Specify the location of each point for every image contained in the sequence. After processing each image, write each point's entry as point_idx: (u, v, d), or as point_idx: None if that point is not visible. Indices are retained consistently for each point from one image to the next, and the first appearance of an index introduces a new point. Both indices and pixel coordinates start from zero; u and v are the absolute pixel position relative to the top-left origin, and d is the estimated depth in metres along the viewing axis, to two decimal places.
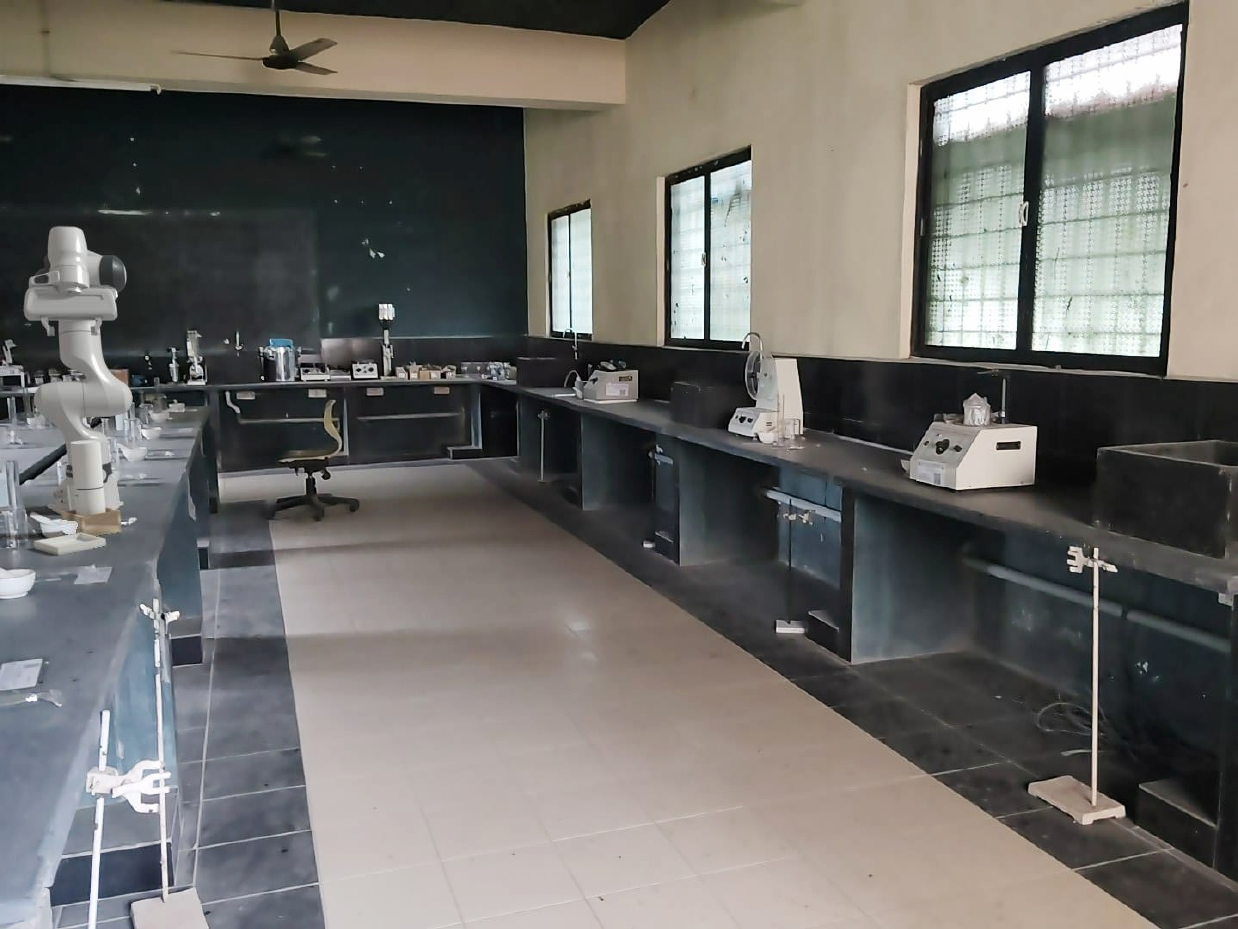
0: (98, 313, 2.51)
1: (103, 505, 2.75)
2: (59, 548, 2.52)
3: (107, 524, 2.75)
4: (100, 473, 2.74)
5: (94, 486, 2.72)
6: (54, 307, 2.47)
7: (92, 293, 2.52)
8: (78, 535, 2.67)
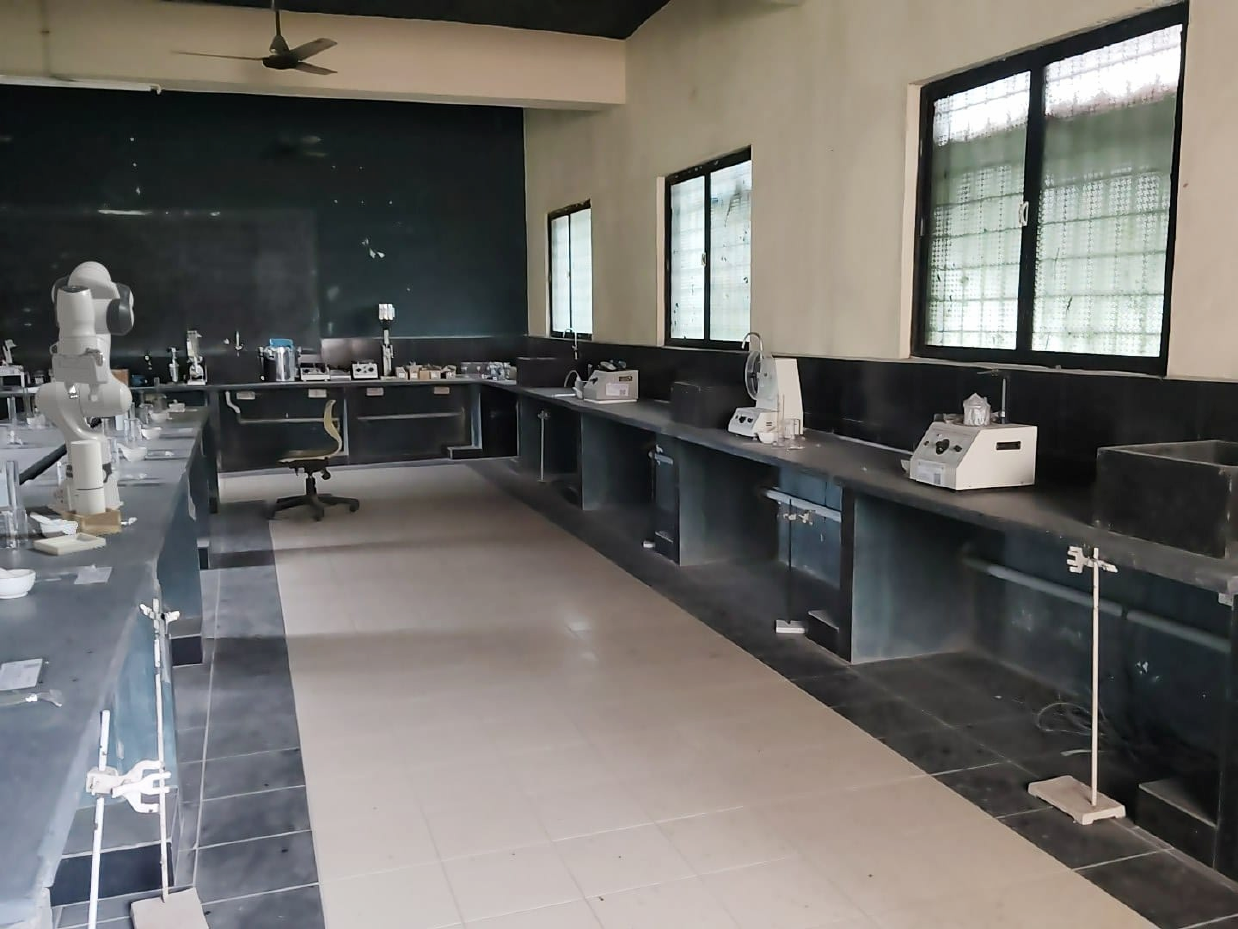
0: (87, 383, 2.65)
1: (103, 505, 2.75)
2: (59, 548, 2.52)
3: (107, 524, 2.75)
4: (100, 473, 2.74)
5: (94, 486, 2.72)
6: (67, 375, 2.70)
7: (83, 362, 2.65)
8: (78, 535, 2.67)
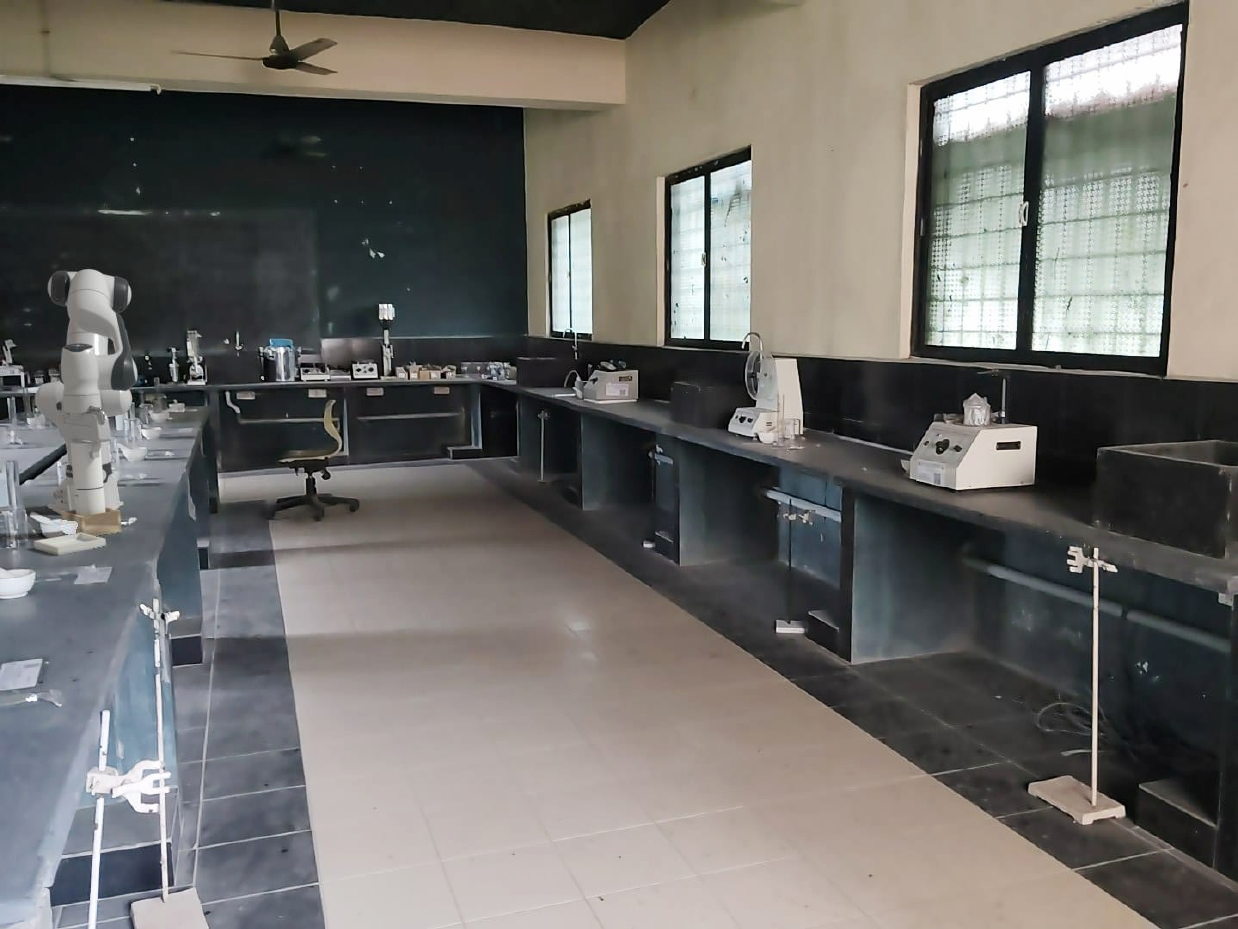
0: (90, 440, 2.68)
1: (103, 505, 2.75)
2: (59, 548, 2.52)
3: (107, 524, 2.75)
4: (100, 473, 2.74)
5: (94, 486, 2.72)
6: (71, 432, 2.73)
7: (86, 420, 2.68)
8: (78, 535, 2.67)
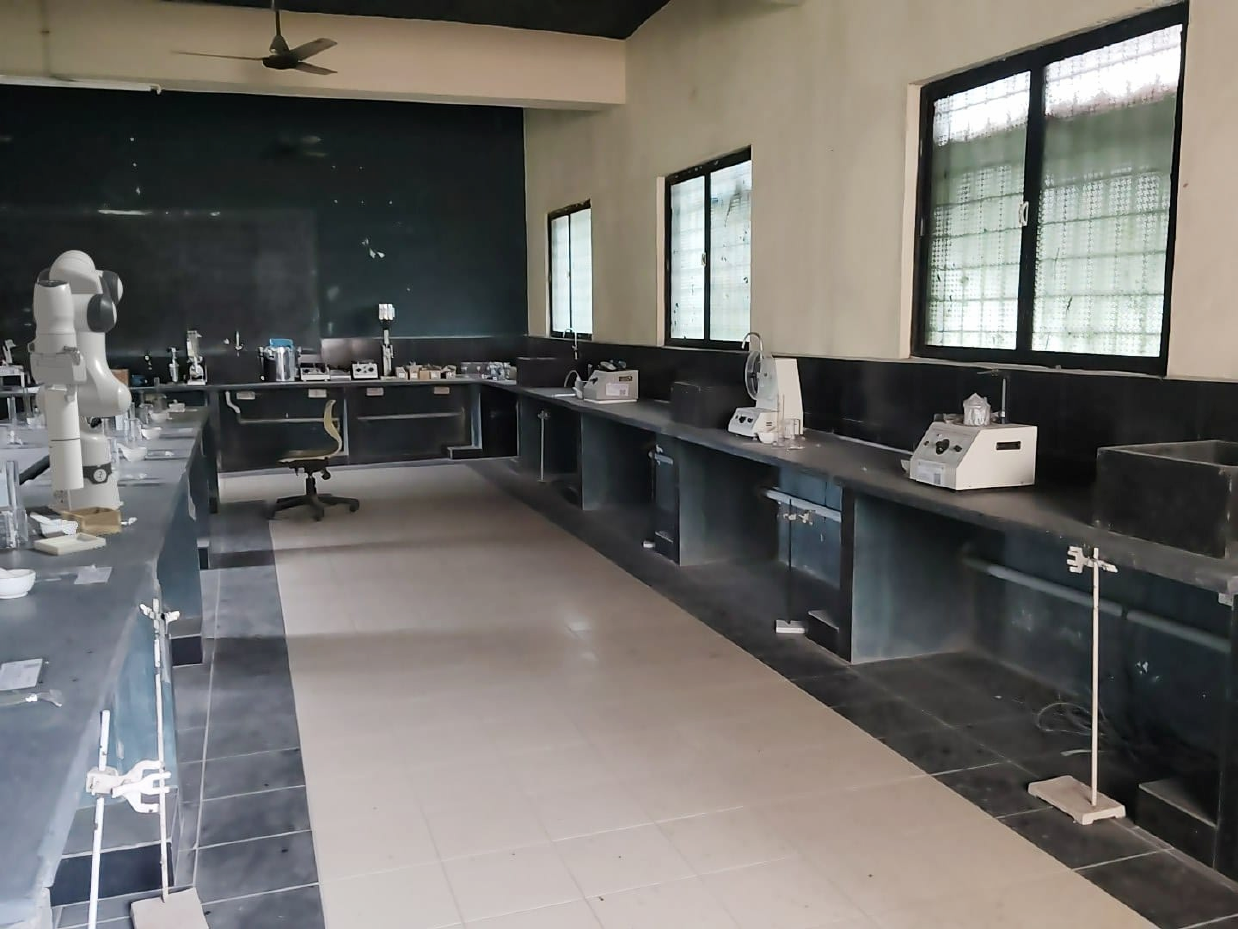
0: (64, 382, 2.50)
1: (79, 457, 2.58)
2: (59, 548, 2.52)
3: (107, 524, 2.75)
4: (76, 423, 2.57)
5: (70, 437, 2.55)
6: (44, 375, 2.55)
7: (60, 360, 2.50)
8: (78, 535, 2.67)
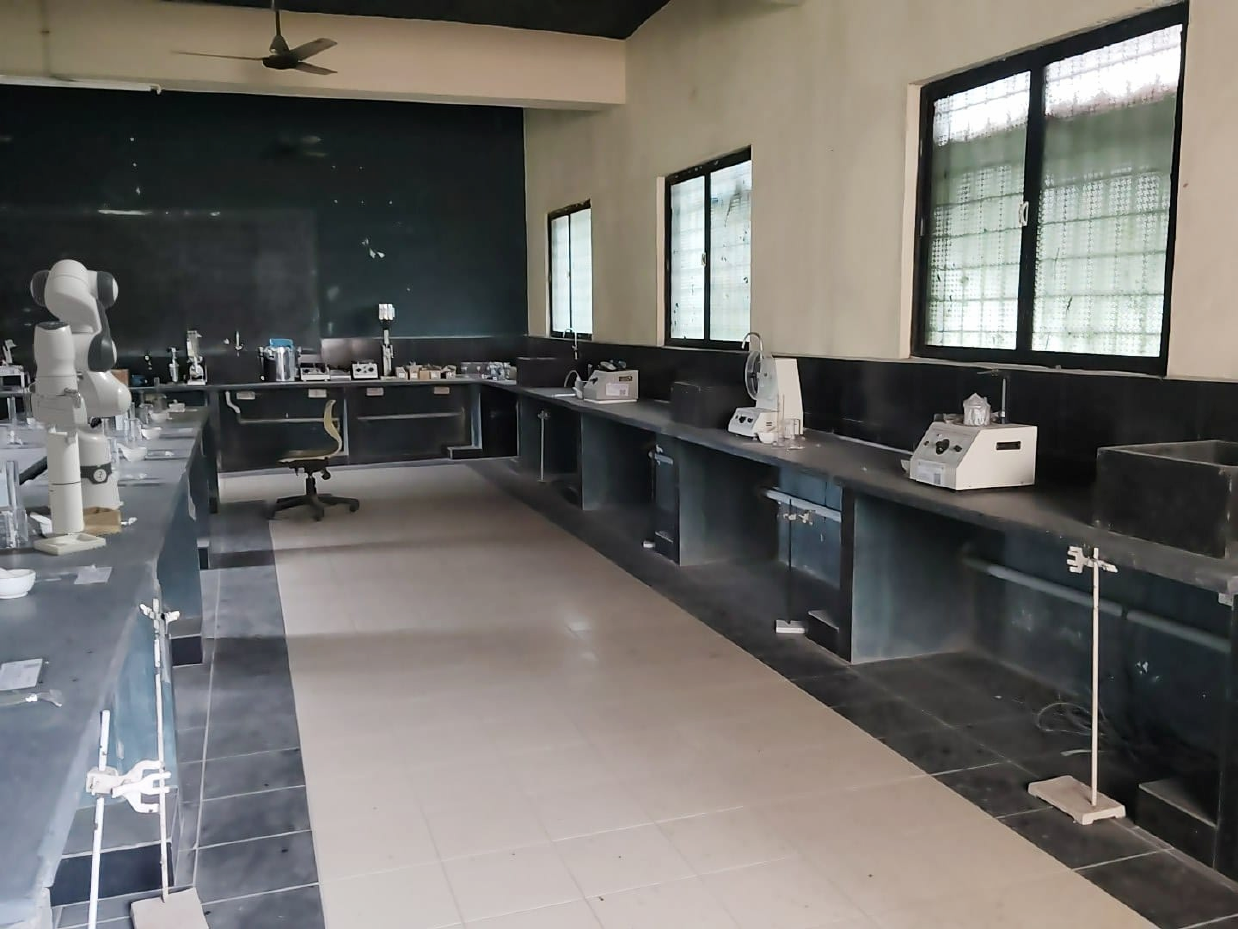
0: (65, 425, 2.50)
1: (80, 501, 2.58)
2: (59, 548, 2.52)
3: (107, 524, 2.75)
4: (77, 467, 2.57)
5: (70, 481, 2.55)
6: (45, 416, 2.55)
7: (61, 403, 2.50)
8: (78, 535, 2.67)
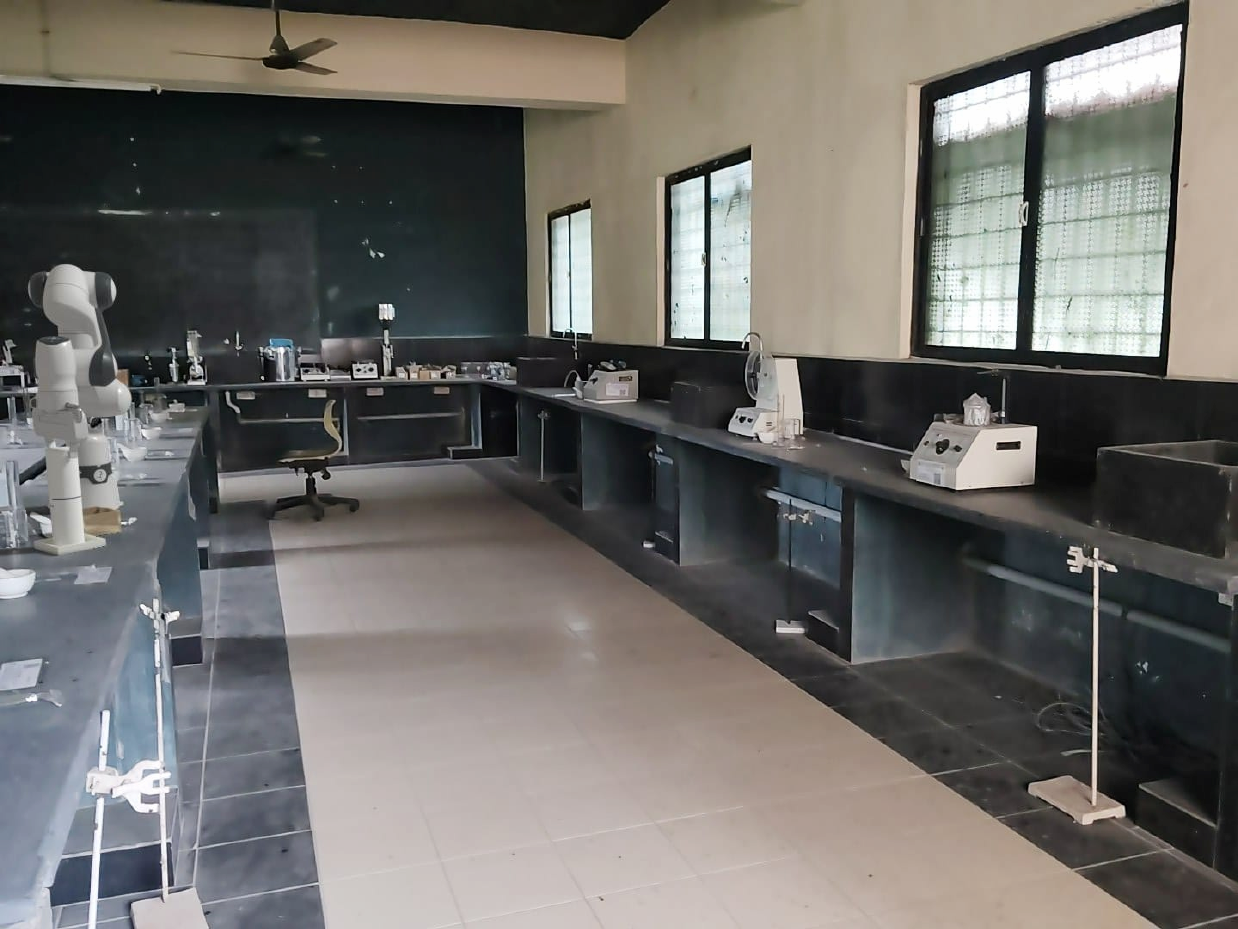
0: (66, 439, 2.51)
1: (80, 515, 2.59)
2: (59, 548, 2.52)
3: (107, 524, 2.75)
4: (77, 482, 2.57)
5: (71, 496, 2.56)
6: (46, 430, 2.56)
7: (62, 417, 2.51)
8: None
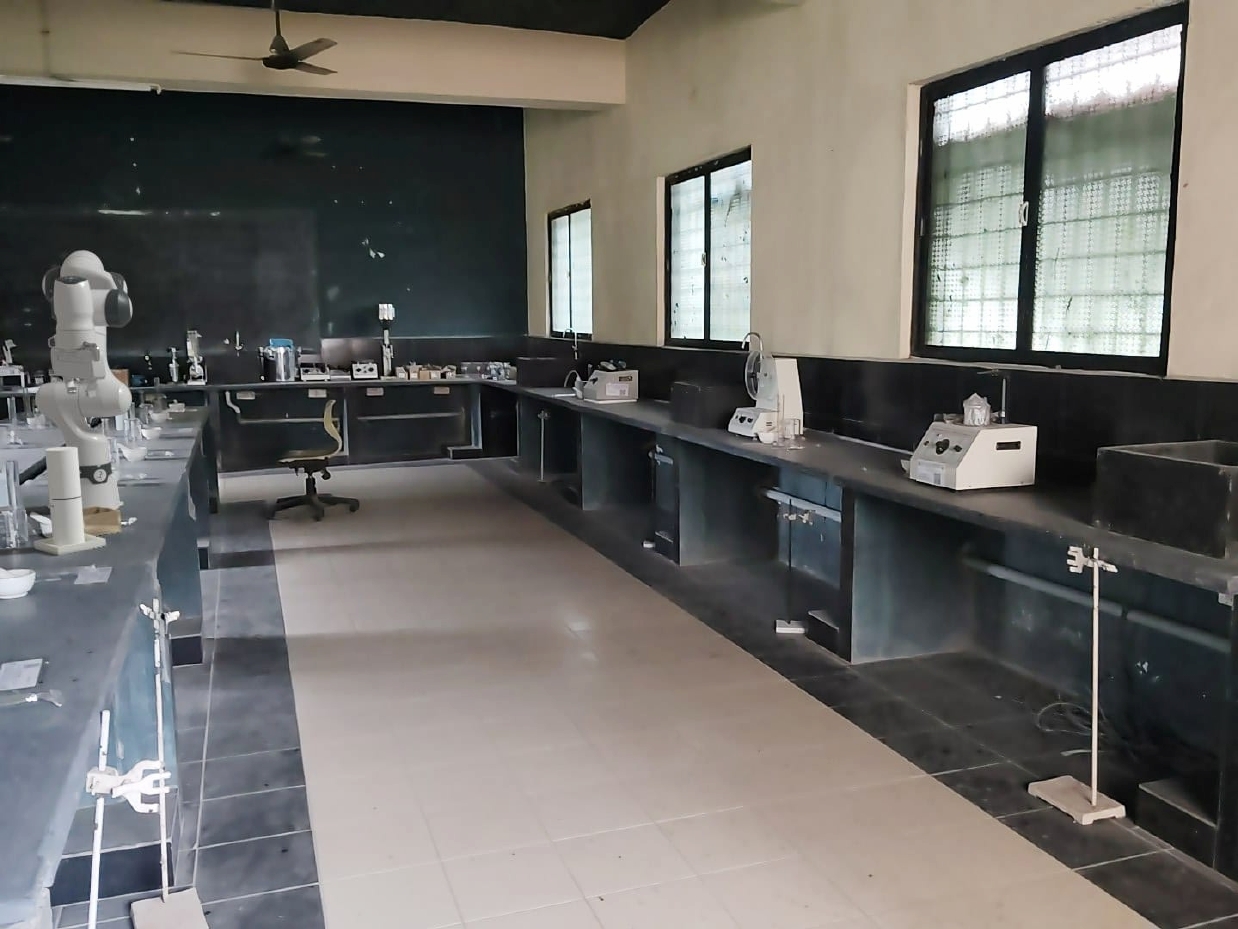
0: (84, 378, 2.55)
1: (81, 515, 2.59)
2: (59, 548, 2.52)
3: (107, 524, 2.75)
4: (77, 482, 2.57)
5: (71, 496, 2.56)
6: (65, 369, 2.60)
7: (80, 356, 2.55)
8: None
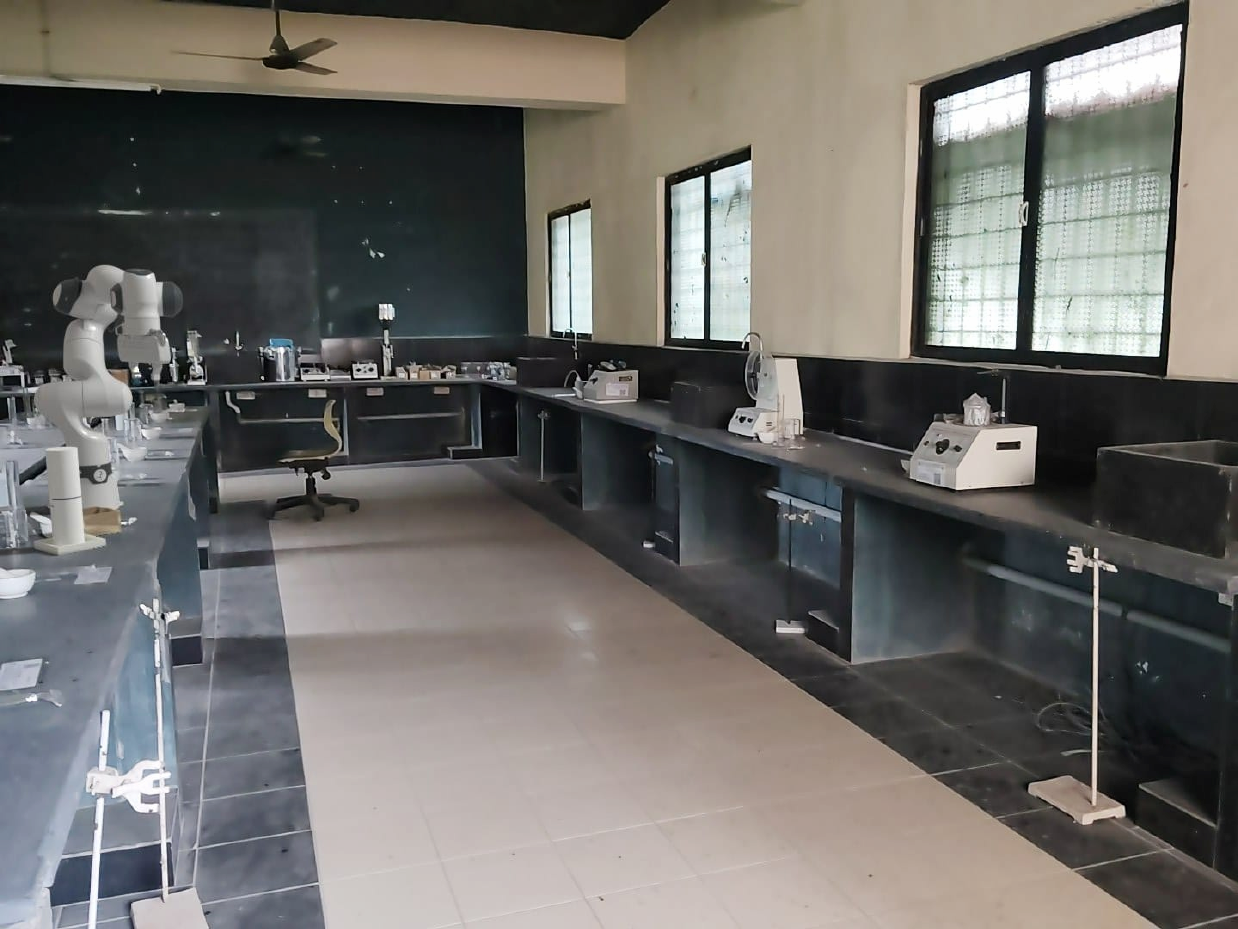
0: (151, 362, 2.75)
1: (81, 515, 2.59)
2: (59, 548, 2.52)
3: (107, 524, 2.75)
4: (77, 482, 2.57)
5: (71, 496, 2.56)
6: (131, 355, 2.80)
7: (147, 342, 2.75)
8: None
